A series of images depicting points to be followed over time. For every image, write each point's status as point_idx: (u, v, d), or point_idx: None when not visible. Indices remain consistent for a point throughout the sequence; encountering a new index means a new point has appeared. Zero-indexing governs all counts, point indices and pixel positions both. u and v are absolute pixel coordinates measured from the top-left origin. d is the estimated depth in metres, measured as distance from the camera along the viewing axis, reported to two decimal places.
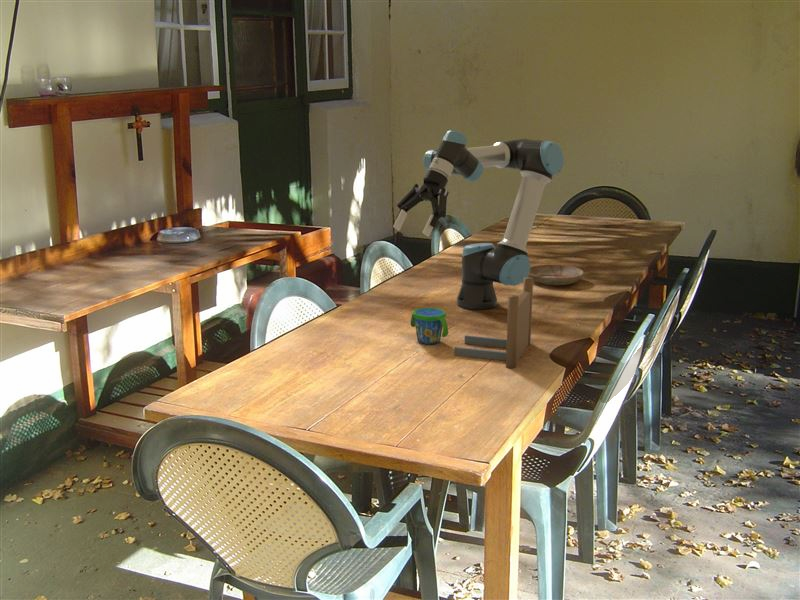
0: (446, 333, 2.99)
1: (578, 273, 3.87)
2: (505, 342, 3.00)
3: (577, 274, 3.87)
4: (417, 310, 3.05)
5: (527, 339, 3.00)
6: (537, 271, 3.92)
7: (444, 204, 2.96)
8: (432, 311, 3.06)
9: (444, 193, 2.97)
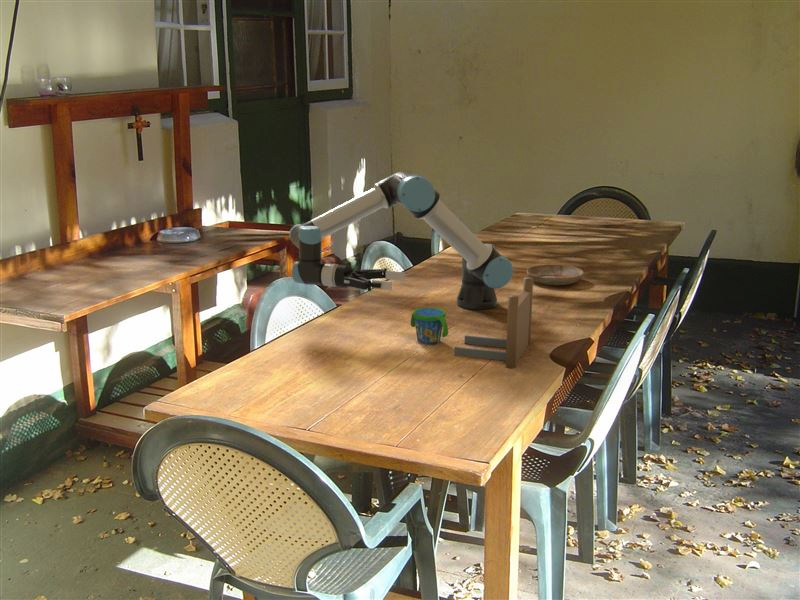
0: (446, 333, 2.99)
1: (578, 273, 3.87)
2: (505, 342, 3.00)
3: (577, 274, 3.87)
4: (417, 310, 3.05)
5: (527, 339, 3.00)
6: (537, 271, 3.92)
7: (356, 283, 2.99)
8: (432, 311, 3.06)
9: (347, 283, 3.02)
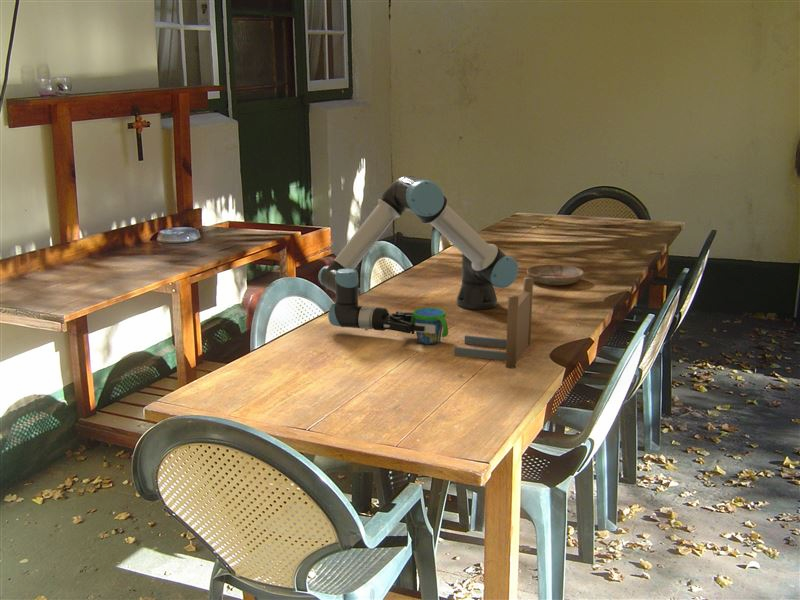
0: (446, 333, 2.99)
1: (578, 273, 3.87)
2: (505, 342, 3.00)
3: (577, 274, 3.87)
4: (417, 310, 3.05)
5: (527, 339, 3.00)
6: (537, 271, 3.92)
7: (398, 327, 3.00)
8: (432, 311, 3.06)
9: (388, 327, 3.02)
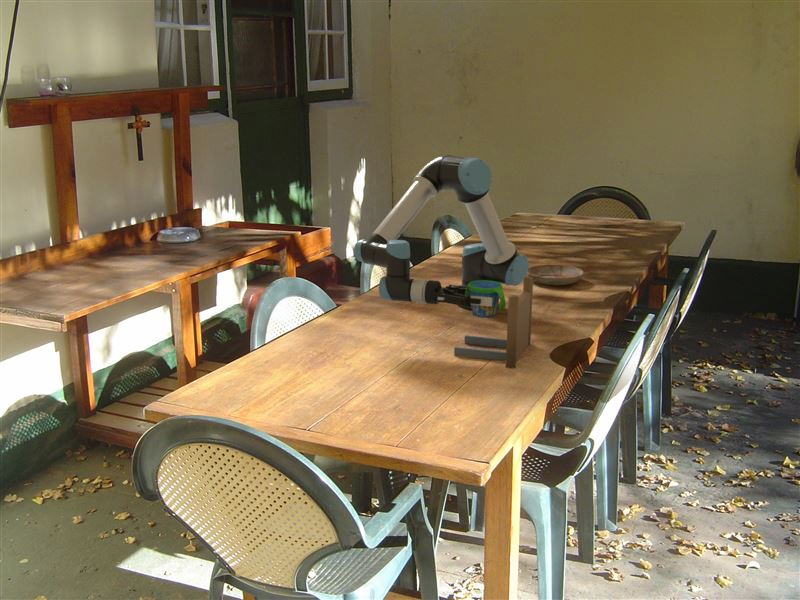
0: (503, 306, 2.86)
1: (578, 273, 3.87)
2: (505, 342, 3.00)
3: (577, 274, 3.87)
4: (472, 282, 2.92)
5: (527, 339, 3.00)
6: (537, 271, 3.92)
7: (453, 300, 2.87)
8: (487, 283, 2.93)
9: (442, 300, 2.89)
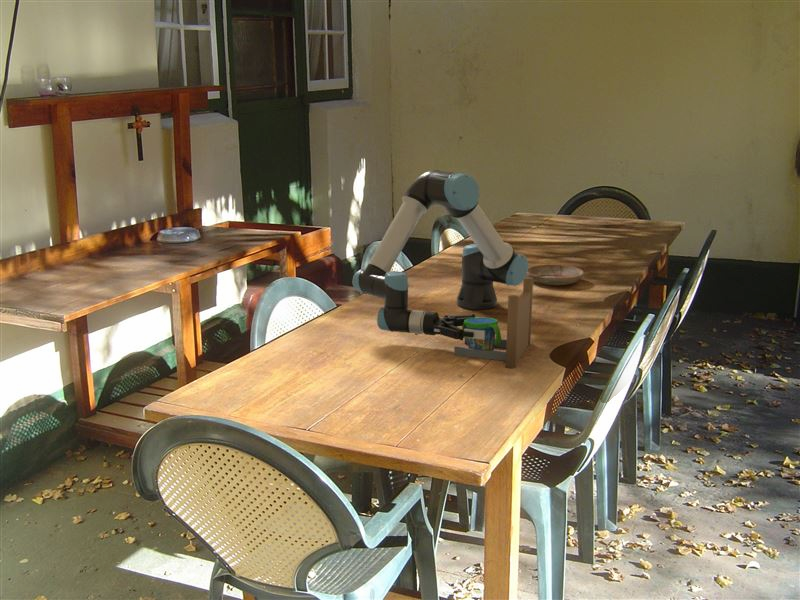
0: (499, 340, 2.88)
1: (578, 273, 3.87)
2: (505, 342, 3.00)
3: (577, 274, 3.87)
4: (468, 319, 2.95)
5: (527, 339, 3.00)
6: (537, 271, 3.92)
7: (447, 332, 2.89)
8: (483, 320, 2.96)
9: (438, 332, 2.92)
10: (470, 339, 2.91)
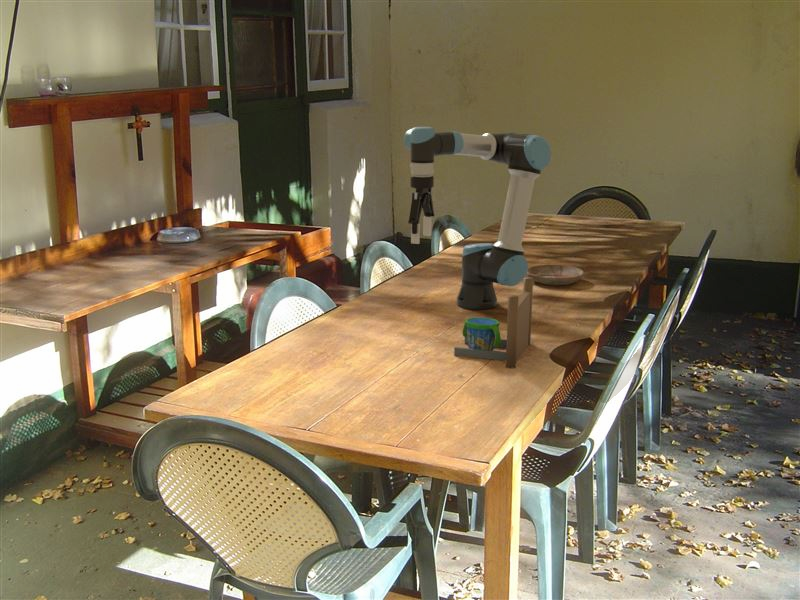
0: (498, 343, 2.88)
1: (578, 273, 3.87)
2: (505, 342, 3.00)
3: (577, 274, 3.87)
4: (470, 319, 2.95)
5: (527, 339, 3.00)
6: (537, 271, 3.92)
7: (414, 209, 2.98)
8: (485, 320, 2.95)
9: (414, 198, 2.98)
10: (470, 339, 2.91)
